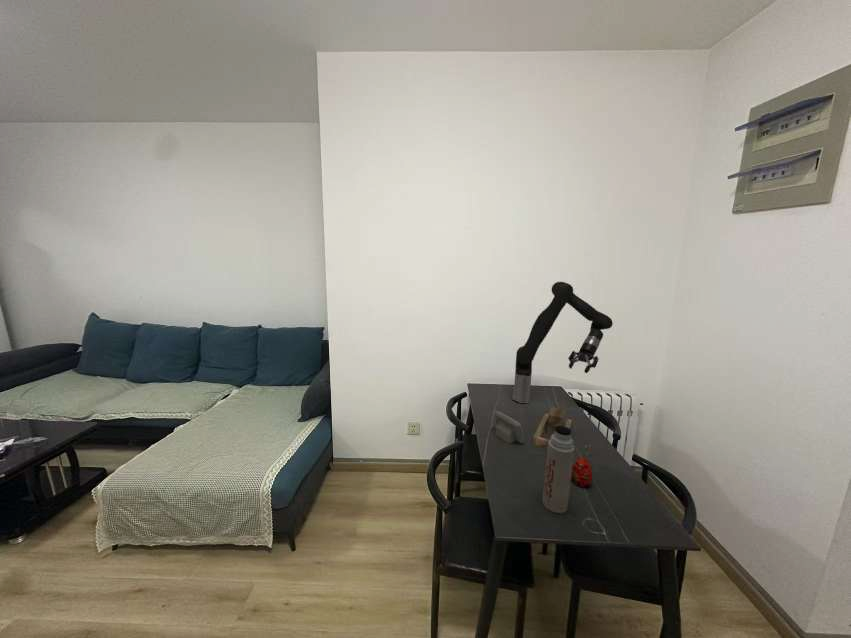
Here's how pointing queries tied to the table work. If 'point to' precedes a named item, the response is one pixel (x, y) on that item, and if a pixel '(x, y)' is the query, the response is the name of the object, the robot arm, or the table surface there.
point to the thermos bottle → (558, 470)
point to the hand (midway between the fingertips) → (577, 370)
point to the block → (555, 419)
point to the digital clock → (508, 429)
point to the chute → (537, 437)
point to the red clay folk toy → (582, 471)
